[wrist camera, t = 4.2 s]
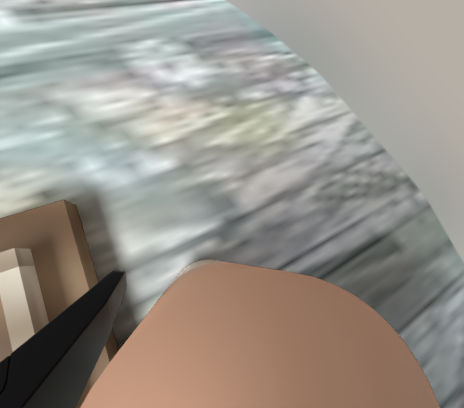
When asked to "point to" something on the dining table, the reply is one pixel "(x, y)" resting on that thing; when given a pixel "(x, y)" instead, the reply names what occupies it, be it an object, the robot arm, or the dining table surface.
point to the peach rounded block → (260, 347)
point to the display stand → (44, 276)
